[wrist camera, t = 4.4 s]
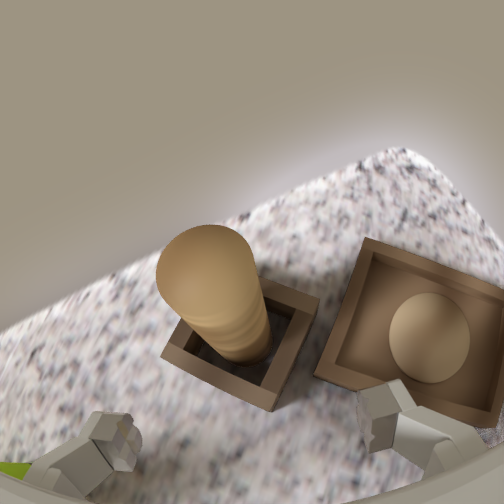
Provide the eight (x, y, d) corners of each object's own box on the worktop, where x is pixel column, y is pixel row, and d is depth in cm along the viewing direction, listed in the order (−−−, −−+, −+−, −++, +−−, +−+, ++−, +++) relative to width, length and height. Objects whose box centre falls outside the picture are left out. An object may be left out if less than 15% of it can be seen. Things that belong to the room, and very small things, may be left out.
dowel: (281, 327, 23) (270, 242, 12) (258, 376, 21) (224, 332, 11) (233, 307, 24) (187, 214, 14) (209, 353, 22) (138, 290, 12)
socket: (316, 313, 23) (320, 299, 20) (272, 412, 20) (269, 411, 17) (222, 276, 25) (214, 259, 23) (174, 364, 22) (159, 356, 20)
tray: (506, 304, 21) (518, 296, 19) (482, 428, 16) (495, 427, 14) (360, 249, 25) (365, 236, 23) (312, 376, 21) (314, 372, 19)
